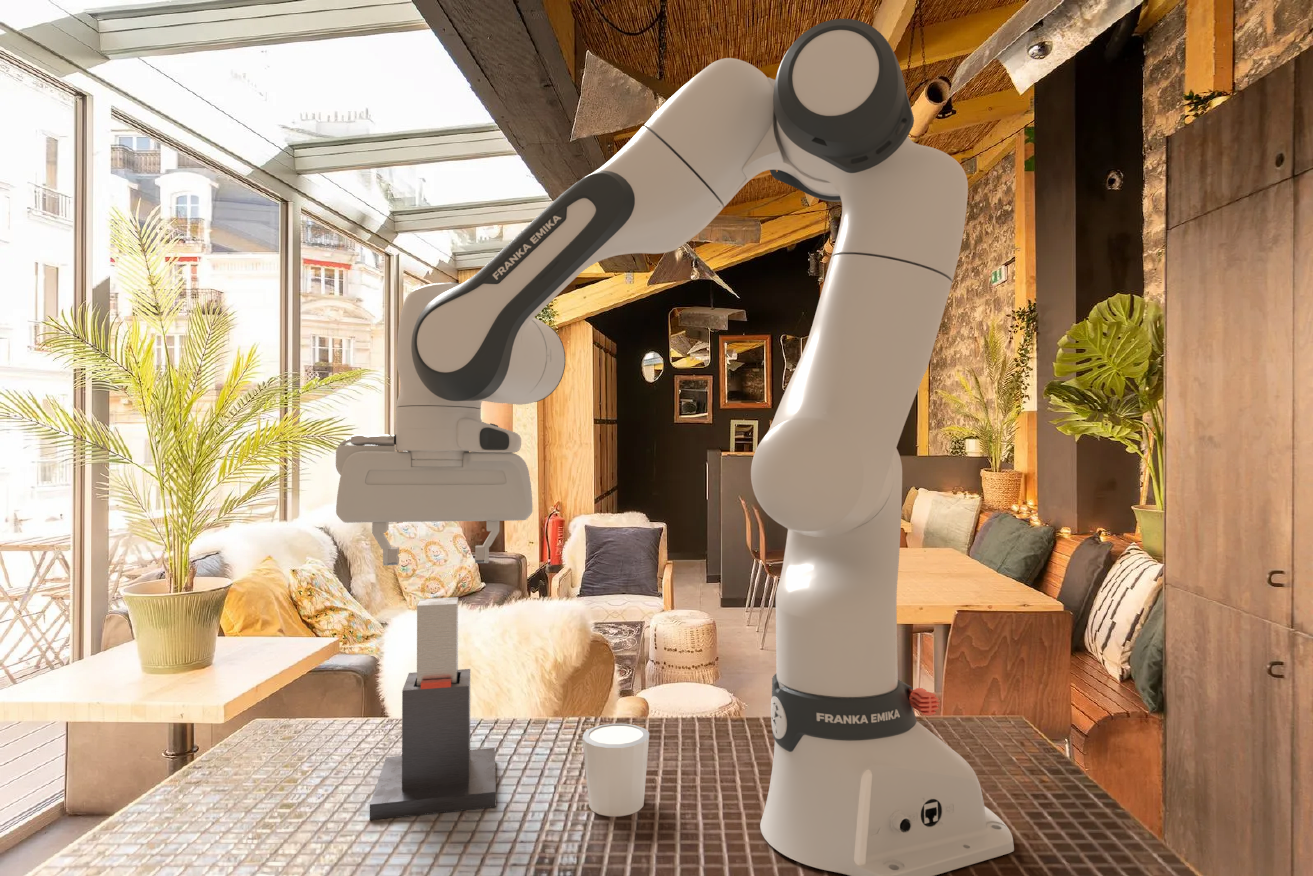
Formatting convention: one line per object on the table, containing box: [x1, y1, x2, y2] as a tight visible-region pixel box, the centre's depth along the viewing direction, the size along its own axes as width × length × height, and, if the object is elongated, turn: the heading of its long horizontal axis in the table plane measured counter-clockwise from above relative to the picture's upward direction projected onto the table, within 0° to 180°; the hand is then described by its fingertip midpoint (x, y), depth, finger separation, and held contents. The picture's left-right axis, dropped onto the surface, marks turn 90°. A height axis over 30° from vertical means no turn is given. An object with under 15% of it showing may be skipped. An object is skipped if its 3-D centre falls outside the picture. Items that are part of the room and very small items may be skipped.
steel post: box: [416, 596, 459, 687], centre depth 81 cm, size 4×4×18 cm
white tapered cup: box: [582, 723, 650, 817], centre depth 77 cm, size 7×7×7 cm
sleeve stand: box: [369, 668, 497, 821], centre depth 80 cm, size 12×12×12 cm
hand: (437, 563), depth 81 cm, fingers open, 8 cm apart
